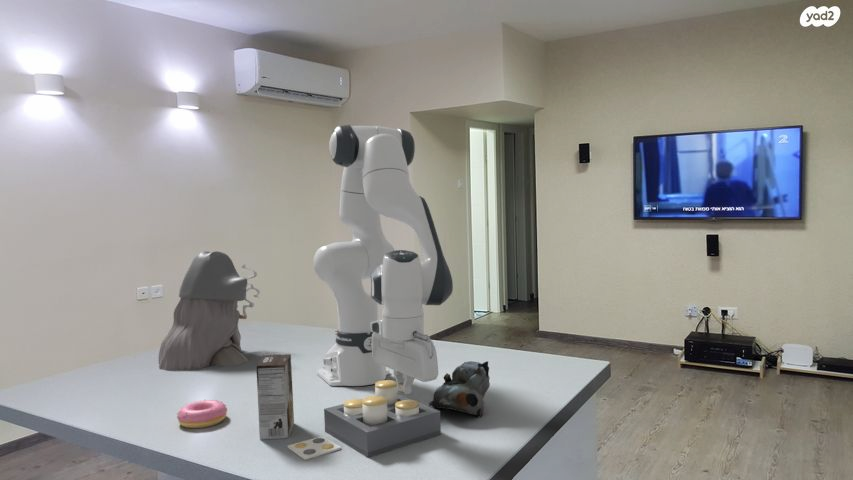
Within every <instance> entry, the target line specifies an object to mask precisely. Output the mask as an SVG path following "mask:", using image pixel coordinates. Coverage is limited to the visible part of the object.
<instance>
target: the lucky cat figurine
mask: <svg viewBox="0 0 853 480" xmlns="http://www.w3.org/2000/svg"><path fill="white" fill-rule="evenodd" d="M489 372H490V367H489V361H484V362H482V363H481V362H480V361H472V360H471V361H464V362H463V363H462V364H461V365H459V366H457V367H455V369H454V370H453V371H452V374H449V373H445V374H444V376H443V379H444V382H443V383H442V385H440V386H437V388H436V389H435V391H434V392H433V398H432V401H429V402H428V403H429V404H428V405H429V407H431V408H433V409H436V410H437V409H445V410H447V409H448V410H454V411H458V412H461V413H465V414H468V415H472V416H475V417H477V418H479V417H480V418H481V417H482V415H483V414H484V411H485V400H484V398H485V395H486V393H487V391H488V389H490V385H491V383H490V378H491V377H490V375H489Z"/></svg>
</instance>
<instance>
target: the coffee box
mask: <svg viewBox="0 0 853 480" xmlns="http://www.w3.org/2000/svg"><path fill="white" fill-rule="evenodd" d="M291 355H292V354H290V353H289V354H280V353H279V354H278V353H277V354H274V353H273V354H264V355H262V357H261V358H259V359H260V360H259V361H258V362H257V364H256V367H255V368H256V370H255V371H256V386H257V407H258V409H257V411H258V429H259V430H258V431H259V440H261V441H262V440H275V439H289V438H290V436H291V432H292V429H293V426H294V424H295V417H294V416H295V413H294V393H293V390H294V389H293V374H292V356H291Z"/></svg>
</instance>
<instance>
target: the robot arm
mask: <svg viewBox="0 0 853 480" xmlns="http://www.w3.org/2000/svg"><path fill="white" fill-rule="evenodd" d="M328 148H329V149H328V150H329V154H330V157H331V161H333V163H335V164H336V165H338V166H340V167H343V171H342V176H341V183H340V193H339V195H340V197H339V198H340V199H339V211H338V215H339V219H340V221H341V222H342V223H343V224H344V225H345V226H347V227H348V228H349V229H350V230H351V234H352V240H350V241H338V242H333V243H329V244H326V245H324V246H320V247H319V248H318V249H317V250H316V252H315V253H314V256H313V260H312V261H313V262H312V265H313V270H314V273H315V274H316V276H317V277H318V279H319V280H321V281H322V282H324V283H325V284H326V285H327V286H328V288H329V289H330V290H331V293H332V294H333V297H334V299H335V302H336V307H337V320H338V330H335V331H334V332H335V344H333V345H332V347H331V348H329V350H328V351H327V352H326V353H325V356H324V357H323V359H322V360H323V365H324V367H321V368H319V369H318V370H316V374H317V375H318V376H319V377H320V378H321V379H322V380H323V381H324V382H326V384H328V385H329V386H333V387H339V386H340V387H341V386H345V387H346V386H347V387H362V386H363V387H364V386H369V385H375V383H376V382H378V381H383V380H387V376H388V375H389V374H390V369H391V370H393V377H394V379H395V381H396V382H397V390H398V392H401V393H402V394H405V395H408V394H411V393H412V389H413V388H412V386H413V383H414V381H415V380H417V381H420V382H422V383H427V382H431V381H434V380H437V378H438V376H439V362H438V354H437V349H436V345H435V344H434V342H433V340H432V339H431V337H430V336H429V335H428V334H425V319H424V318H425V317H424V316H425V314H424V313H425V312H424V309H423V305H425V306H441V305H443V303H445V302H446V301H447V300H448V299H449V298H450V297H451V296H452V294H453V289H454V287H453V286H454V284H453V283H454V282H453V276H452V274H451V271H450V267H449V264H448V263H447V261H446V259H445V256H444V253H443V249H442V246H441V243H440V239H439V236H438V235H439V234H437V230H436V226H435V223H434V222H435V221H434V220H433V217H432V213H431V210H430V207H429V206H428V203H427V200H426V199H425V198H424V197H422V196H420V195H419V194H418V193H417V192H416V191H415V189H414V188H413V186H412V184H411V181H410V174H409V168H408V167H409V166H410V165H411V164H412V162H413V160H414V157H415V151H416V148H415V140H414V136H413V134H412V133H411V132H409V131H408V130H405V129H401V128H391V127H387V126H381V125H351V124H343V125H338V126H336V127H335V128H334V129H333V130H332V132H331V136H330V139H329V143H328ZM381 215H382V216H384V217H386V218H391V219H393V220H397V221H400V222H402V223H404V224H406V225H407V226H409V227H411V228H412V229H413V230H414V231H415V234H416V236H417V239H418V242H419V246H420V250H421V253H422V256H423V260H424V261H421V258H420V256H419V254H418V253H417V252H414V251H412V250H411V251H410V250H404V249H400V250H395V248H394V247H393V244H392V243H390V242H389V241H388V240H387V238H386V236H385V235H384V232H383V228H382V223H381ZM368 279H370V284H371V286H370V294H369V293H367V292H366V291H365V289H364V287H363V282H362V281H363V280H368ZM378 304H379V305H381V306H383V309H382V312H381V319H379V311H378V310H379V309H378V308H379V307H378Z"/></svg>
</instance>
